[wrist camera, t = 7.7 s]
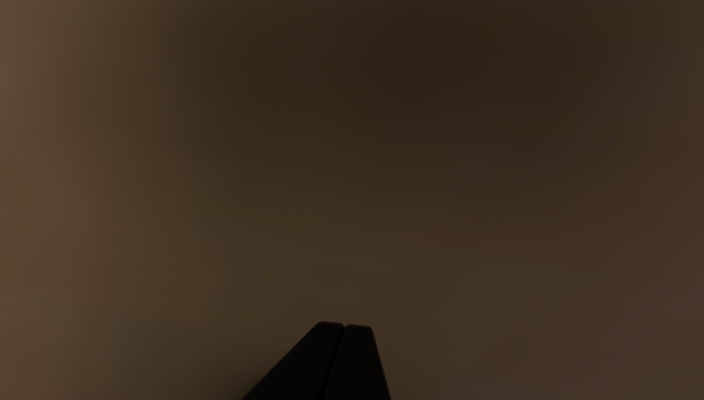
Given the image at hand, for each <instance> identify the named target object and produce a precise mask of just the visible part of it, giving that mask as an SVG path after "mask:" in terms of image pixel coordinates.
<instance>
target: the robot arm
mask: <svg viewBox="0 0 704 400" xmlns="http://www.w3.org/2000/svg"><path fill="white" fill-rule="evenodd" d="M241 400H391V396H390V393H389V389H388V385H387V382H386V378H385V374H384V370H383V367H382V363H381V359H380V356H379V352H378V348H377V344H376V341H375V337H374V333H373V330H372V328H371V327H370V326H363V325H354V324H348V325H347V326H346V327H345V326H344V325H343V324H342V323H335V322H325V321H321V322H318V323H317V324H316V325H315V326H314V327H313V328H312V329H311V330H310V331H309V332H308V333H307V334H306V335H305V336H304V337H303V338H302V339H301V340H300V341H299V342H298V343H297V344H296V345H295V346H294V347H293V348H292V349H291V350H290V351H289V352H288V353H287V354H286V355H285V356H284V357H283V358H282V359H281V360H280V361H279V362H278V363H277V364H276V365H275V366H274V367H273V368H272V369H271V370H270V371H269V372H268V373H267V374H266V375H265V376H264V377H263V378H262V379H261V380H260V381H259V382H258V383H257V384H256V385H255V386H254V387H253V388H252V389H251V390H250V391H249V392H248V393H247V394H246V395H245V396H244V397H243V398H242V399H241Z"/></svg>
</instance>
